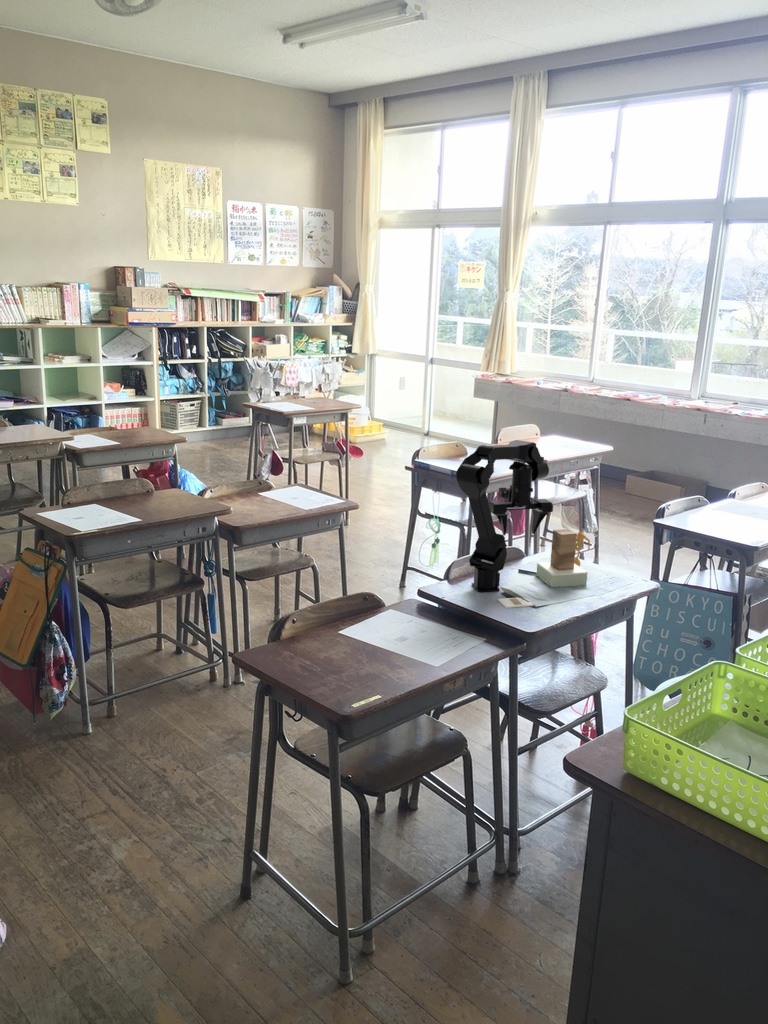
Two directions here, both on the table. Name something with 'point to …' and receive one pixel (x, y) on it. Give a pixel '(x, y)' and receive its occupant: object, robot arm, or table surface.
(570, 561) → the walnut block
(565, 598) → the table surface
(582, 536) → the figurine
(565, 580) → the base block
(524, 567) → the table surface
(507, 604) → the card
